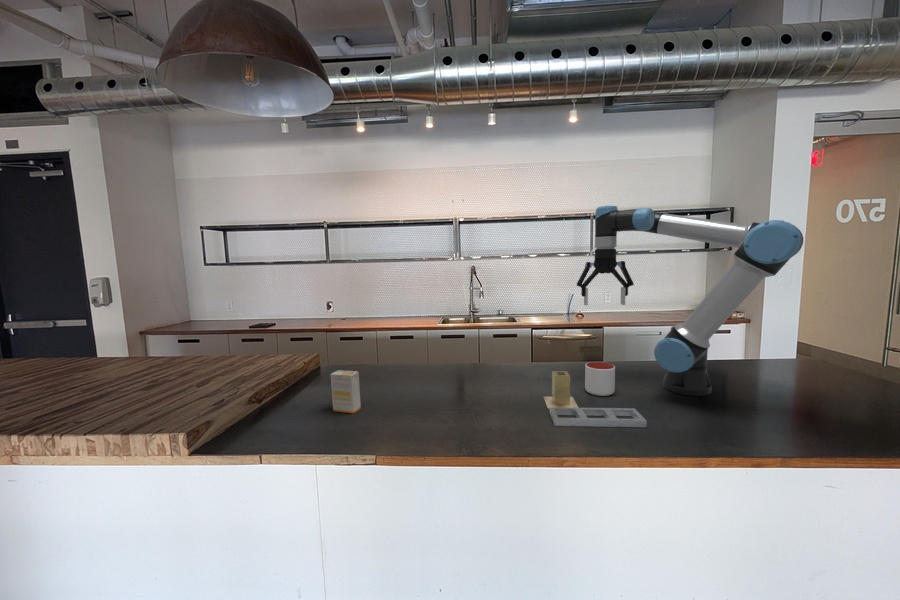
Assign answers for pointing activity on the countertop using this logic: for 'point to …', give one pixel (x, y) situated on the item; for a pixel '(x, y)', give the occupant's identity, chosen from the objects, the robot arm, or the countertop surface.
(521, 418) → the countertop surface
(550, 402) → the coaster
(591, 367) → the cup
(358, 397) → the supplement box
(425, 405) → the countertop surface
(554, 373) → the tall beige post
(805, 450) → the countertop surface
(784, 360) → the countertop surface
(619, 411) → the grey slotted tray
